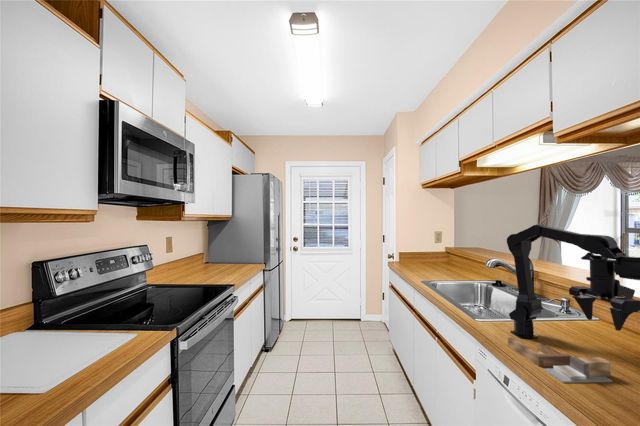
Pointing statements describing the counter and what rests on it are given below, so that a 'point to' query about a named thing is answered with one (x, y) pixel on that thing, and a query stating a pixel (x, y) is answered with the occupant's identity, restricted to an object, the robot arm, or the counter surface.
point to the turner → (585, 368)
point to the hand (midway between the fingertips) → (603, 324)
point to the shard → (545, 349)
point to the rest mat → (566, 380)
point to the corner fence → (539, 355)
